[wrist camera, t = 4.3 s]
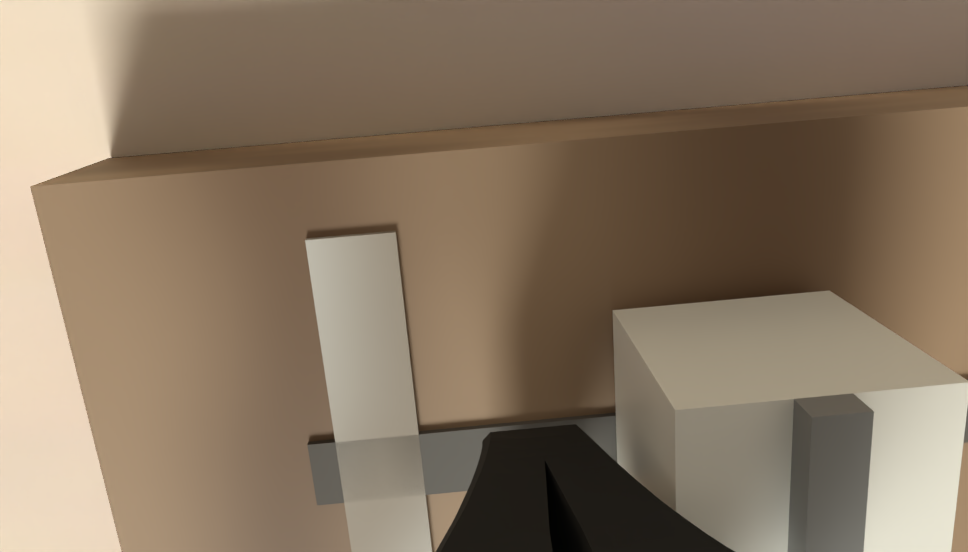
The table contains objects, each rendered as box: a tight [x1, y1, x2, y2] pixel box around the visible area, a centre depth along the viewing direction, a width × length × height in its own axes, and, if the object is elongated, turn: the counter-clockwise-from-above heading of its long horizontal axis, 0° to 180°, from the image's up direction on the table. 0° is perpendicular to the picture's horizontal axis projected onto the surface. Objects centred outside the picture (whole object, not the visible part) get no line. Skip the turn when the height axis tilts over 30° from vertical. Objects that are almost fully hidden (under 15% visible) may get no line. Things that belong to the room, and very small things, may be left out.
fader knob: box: [612, 291, 968, 552], centre depth 10 cm, size 3×4×3 cm
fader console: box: [31, 86, 968, 552], centre depth 13 cm, size 18×9×3 cm, turn 94°
